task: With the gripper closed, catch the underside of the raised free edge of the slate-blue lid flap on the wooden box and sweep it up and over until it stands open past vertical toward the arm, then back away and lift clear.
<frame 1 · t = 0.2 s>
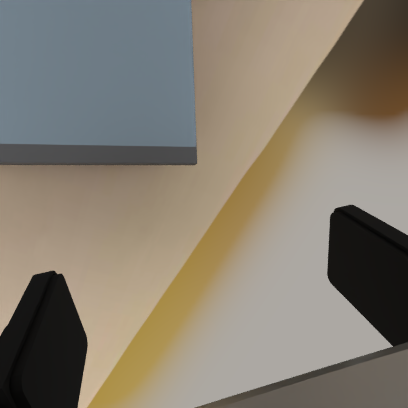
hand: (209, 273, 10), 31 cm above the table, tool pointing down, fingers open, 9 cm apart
lid flap: (14, 58, 20), point 15 cm above the table, hinge at 25.0°
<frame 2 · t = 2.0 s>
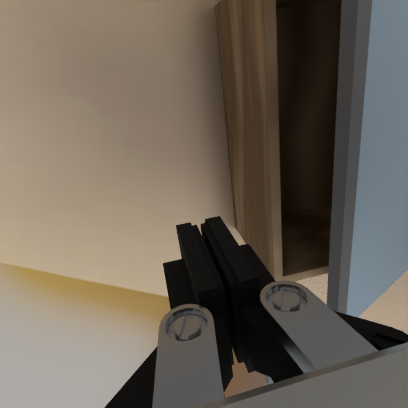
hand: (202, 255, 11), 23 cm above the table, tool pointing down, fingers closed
wooden box: (285, 123, 34), on the table
lid flap: (397, 149, 21), point 15 cm above the table, hinge at 25.0°
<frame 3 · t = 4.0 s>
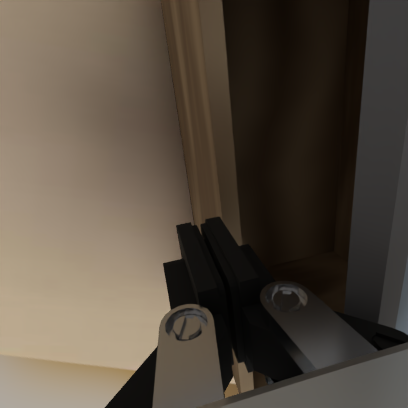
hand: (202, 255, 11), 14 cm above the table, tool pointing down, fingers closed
wooden box: (267, 147, 25), on the table
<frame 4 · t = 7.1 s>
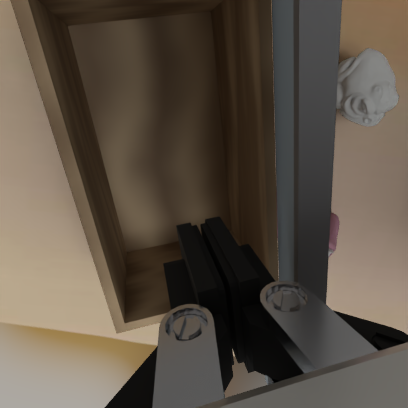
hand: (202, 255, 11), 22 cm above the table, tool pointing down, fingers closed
frog figurine: (337, 87, 33), on the table
wooden box: (163, 144, 31), on the table
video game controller: (294, 215, 38), on the table
lid flap: (290, 198, 15), point 19 cm above the table, hinge at 68.0°, touching gripper
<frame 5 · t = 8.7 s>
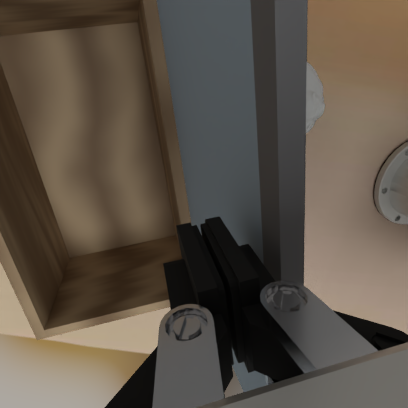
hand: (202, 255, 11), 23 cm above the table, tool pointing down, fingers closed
frog figurine: (276, 95, 34), on the table
wooden box: (100, 151, 32), on the table
lid flap: (219, 202, 16), point 19 cm above the table, hinge at 94.0°, touching gripper
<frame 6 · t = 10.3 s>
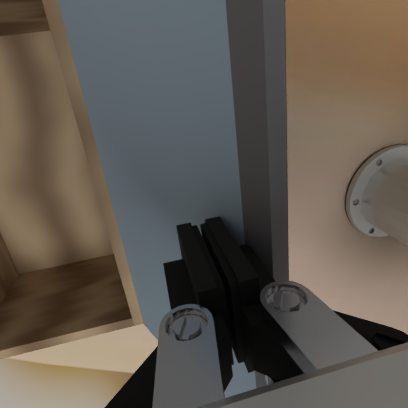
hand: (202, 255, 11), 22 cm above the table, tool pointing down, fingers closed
wooden box: (46, 163, 30), on the table
lid flap: (168, 215, 15), point 18 cm above the table, hinge at 116.7°, touching gripper
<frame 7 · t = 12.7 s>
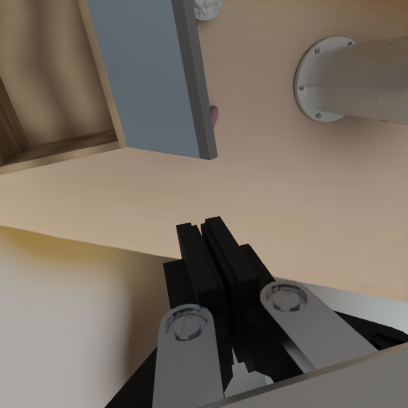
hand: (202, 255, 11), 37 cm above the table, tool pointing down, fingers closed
wooden box: (46, 48, 38), on the table
lid flap: (130, 2, 24), point 18 cm above the table, hinge at 116.8°
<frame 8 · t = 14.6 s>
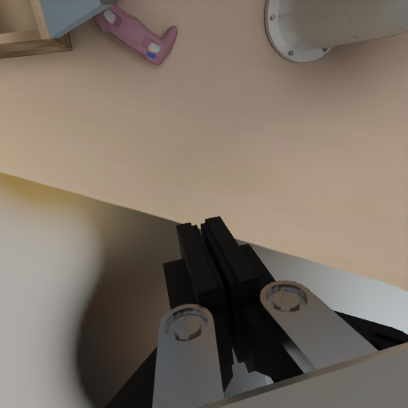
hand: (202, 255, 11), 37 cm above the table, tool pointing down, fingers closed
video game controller: (137, 28, 40), on the table
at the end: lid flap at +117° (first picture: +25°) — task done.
